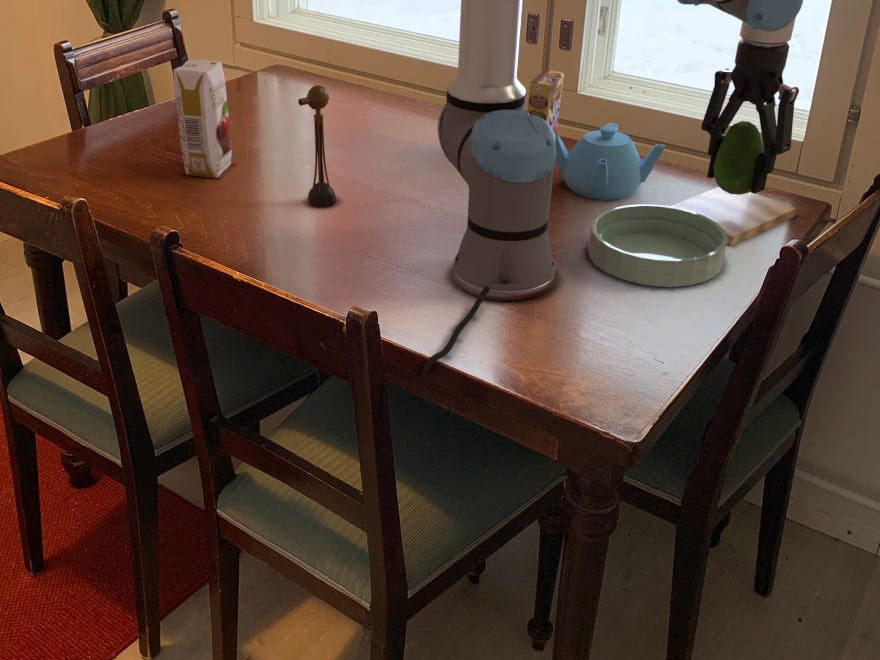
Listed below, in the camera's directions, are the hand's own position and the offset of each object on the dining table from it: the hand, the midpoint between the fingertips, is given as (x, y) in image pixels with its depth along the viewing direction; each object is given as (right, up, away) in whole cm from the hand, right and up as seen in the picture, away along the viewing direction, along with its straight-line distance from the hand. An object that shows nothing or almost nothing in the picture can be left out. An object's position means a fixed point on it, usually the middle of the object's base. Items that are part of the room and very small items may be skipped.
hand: (735, 183), depth 166 cm
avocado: (0, -2, +1) cm, 2 cm away
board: (0, -5, +3) cm, 6 cm away
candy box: (-29, +10, +25) cm, 40 cm away
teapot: (-20, +2, +14) cm, 24 cm away
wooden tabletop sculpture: (-69, -2, +7) cm, 70 cm away
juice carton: (-91, +7, +19) cm, 93 cm away
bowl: (-16, -14, -9) cm, 23 cm away
